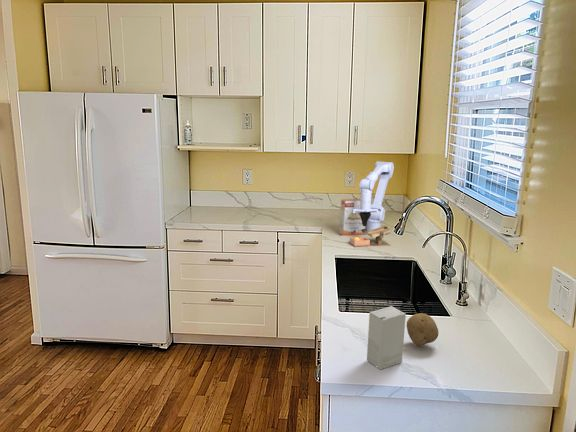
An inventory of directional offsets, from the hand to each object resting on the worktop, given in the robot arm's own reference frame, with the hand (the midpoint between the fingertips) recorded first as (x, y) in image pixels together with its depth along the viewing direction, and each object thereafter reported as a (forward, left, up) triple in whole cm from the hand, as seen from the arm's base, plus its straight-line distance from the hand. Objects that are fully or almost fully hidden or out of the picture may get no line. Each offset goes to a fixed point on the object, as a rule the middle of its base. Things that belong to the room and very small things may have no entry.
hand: (364, 225), depth 256 cm
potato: (+118, -30, -9) cm, 122 cm away
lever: (+5, +5, -4) cm, 8 cm away
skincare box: (+125, -45, -9) cm, 133 cm away
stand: (+9, 0, -9) cm, 13 cm away
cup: (+9, -6, -8) cm, 13 cm away
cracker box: (-15, -1, -9) cm, 18 cm away
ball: (+9, -8, -6) cm, 13 cm away
